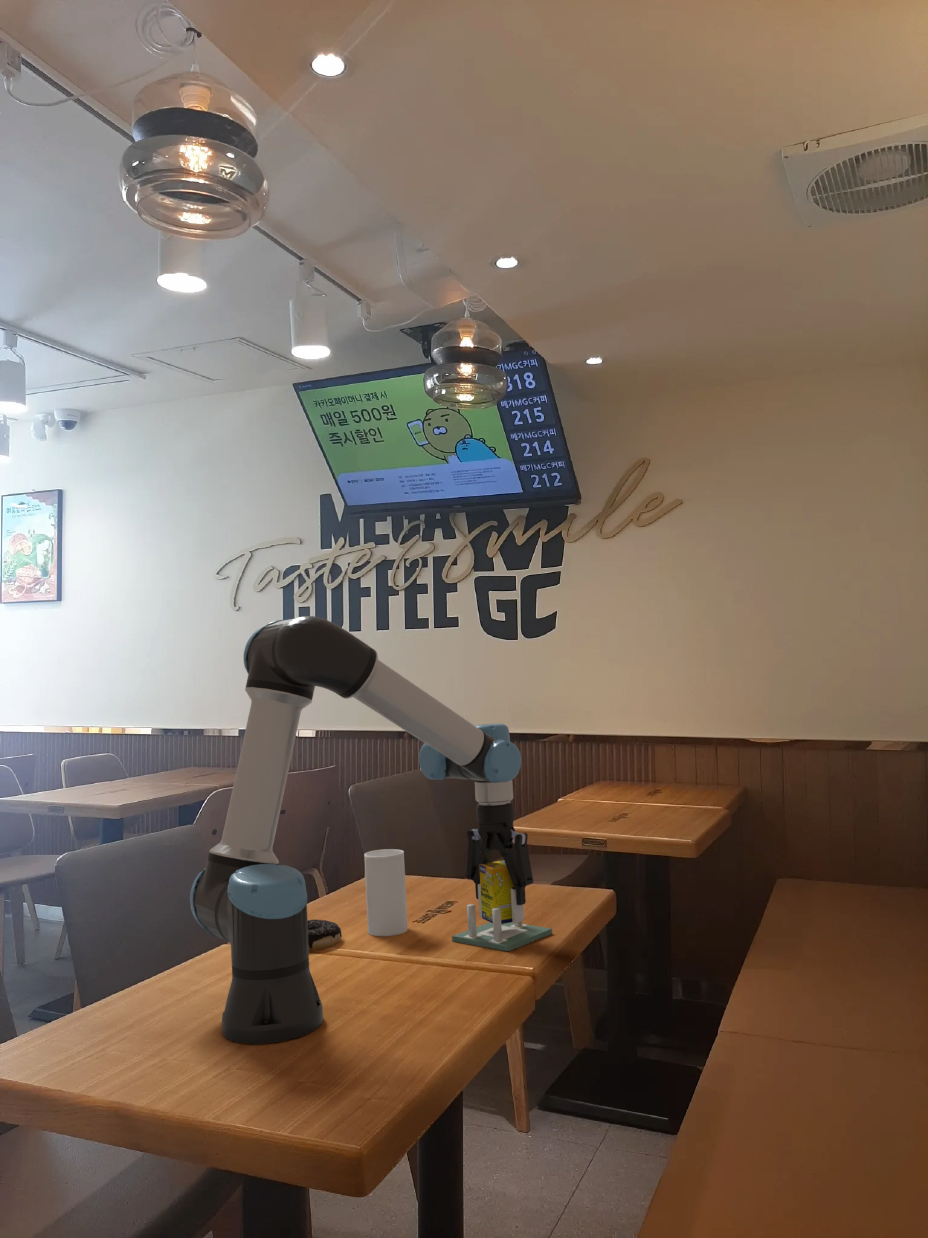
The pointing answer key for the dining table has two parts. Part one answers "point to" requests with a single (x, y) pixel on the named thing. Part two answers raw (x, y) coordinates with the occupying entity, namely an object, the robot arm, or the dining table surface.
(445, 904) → the dining table surface
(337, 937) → the donut
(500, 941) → the header board
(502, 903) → the supplement box
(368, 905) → the cup
